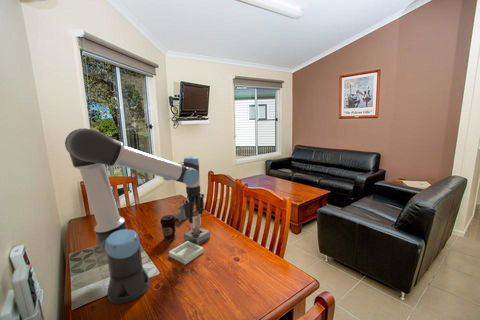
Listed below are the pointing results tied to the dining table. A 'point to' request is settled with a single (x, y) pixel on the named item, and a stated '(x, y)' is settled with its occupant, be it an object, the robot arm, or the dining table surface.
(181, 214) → the figurine
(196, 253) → the tray
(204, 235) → the socket block
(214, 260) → the dining table surface
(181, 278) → the dining table surface
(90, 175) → the robot arm
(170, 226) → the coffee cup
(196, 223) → the pin
